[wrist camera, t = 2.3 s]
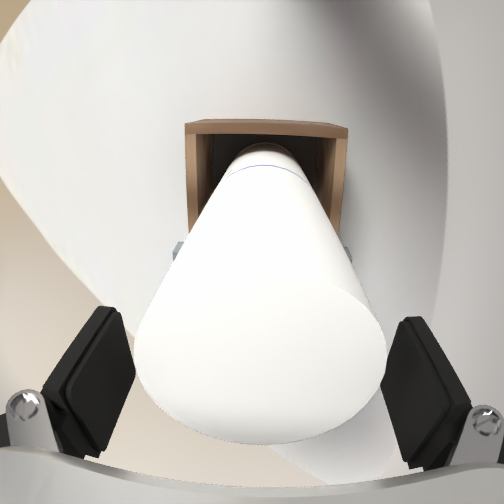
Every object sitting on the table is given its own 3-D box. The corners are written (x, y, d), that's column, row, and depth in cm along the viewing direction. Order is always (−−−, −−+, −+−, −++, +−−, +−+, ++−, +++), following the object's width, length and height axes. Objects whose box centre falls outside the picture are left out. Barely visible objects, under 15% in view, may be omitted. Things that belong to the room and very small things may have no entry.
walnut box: (204, 119, 29) (184, 123, 21) (327, 123, 28) (348, 128, 21) (207, 232, 34) (191, 268, 26) (319, 235, 33) (332, 273, 26)
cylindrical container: (312, 196, 32) (400, 408, 9) (247, 223, 33) (212, 456, 11) (283, 130, 29) (348, 218, 6) (215, 161, 30) (85, 322, 8)
